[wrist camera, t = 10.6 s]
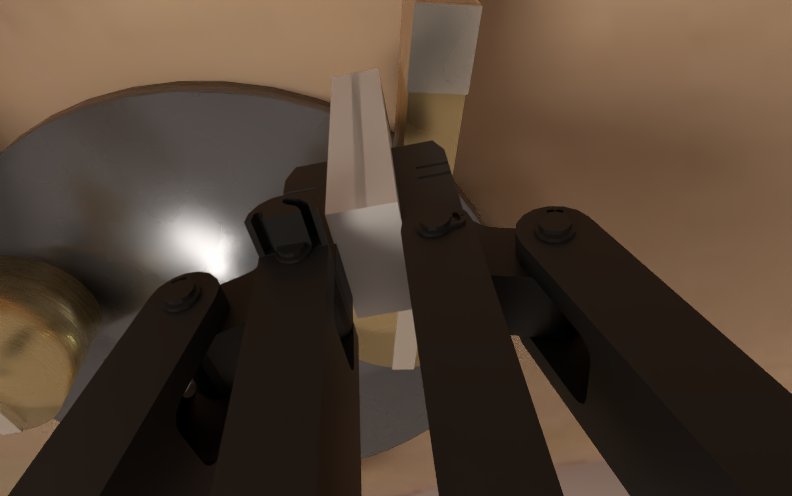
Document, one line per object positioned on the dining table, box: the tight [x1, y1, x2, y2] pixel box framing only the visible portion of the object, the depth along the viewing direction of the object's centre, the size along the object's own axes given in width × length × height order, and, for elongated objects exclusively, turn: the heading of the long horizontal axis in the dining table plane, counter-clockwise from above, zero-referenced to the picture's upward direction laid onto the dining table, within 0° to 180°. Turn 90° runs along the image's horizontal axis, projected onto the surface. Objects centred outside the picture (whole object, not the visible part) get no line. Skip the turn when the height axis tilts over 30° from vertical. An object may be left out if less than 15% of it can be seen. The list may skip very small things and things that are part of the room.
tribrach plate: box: [0, 82, 484, 459], centre depth 24 cm, size 24×24×2 cm
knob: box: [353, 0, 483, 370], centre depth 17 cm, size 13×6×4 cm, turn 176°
